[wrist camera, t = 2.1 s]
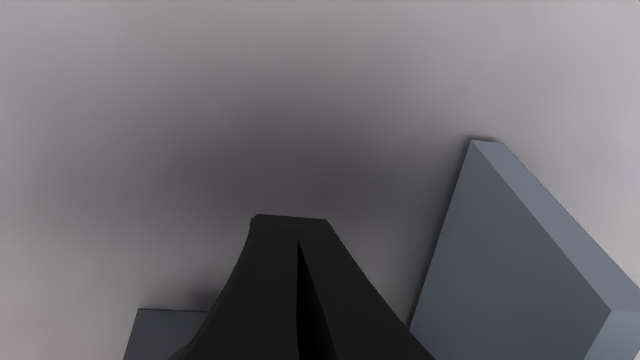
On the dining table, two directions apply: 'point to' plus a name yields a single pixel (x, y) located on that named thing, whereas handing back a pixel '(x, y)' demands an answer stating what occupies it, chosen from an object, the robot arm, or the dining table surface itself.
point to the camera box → (162, 334)
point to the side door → (520, 275)
